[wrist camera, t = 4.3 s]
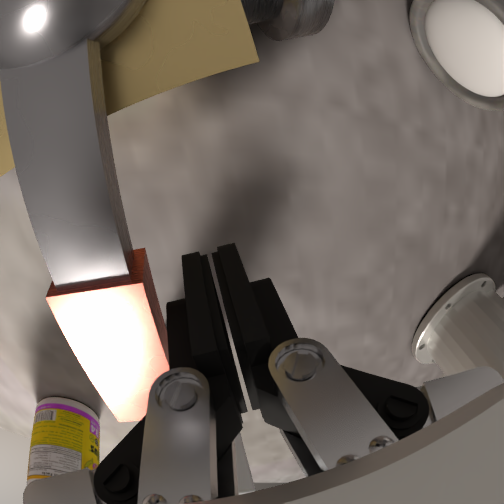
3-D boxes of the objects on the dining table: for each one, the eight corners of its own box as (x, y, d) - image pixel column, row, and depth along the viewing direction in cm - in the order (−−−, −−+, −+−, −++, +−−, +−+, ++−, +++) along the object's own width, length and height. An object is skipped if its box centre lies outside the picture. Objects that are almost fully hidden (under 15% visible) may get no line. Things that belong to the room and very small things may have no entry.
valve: (245, -76, 10) (302, -152, 3) (287, 49, 14) (376, 41, 8) (-27, 40, 9) (-122, 45, 2) (16, 159, 13) (-65, 227, 7)
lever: (-4, -51, 3) (-40, -69, 1) (157, -99, 4) (157, -139, 2) (98, 380, 11) (95, 425, 10) (206, 366, 12) (214, 412, 10)
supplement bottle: (95, 433, 27) (98, 543, 17) (36, 417, 24) (28, 528, 14) (105, 405, 25) (109, 536, 14) (37, 385, 22) (22, 518, 11)
